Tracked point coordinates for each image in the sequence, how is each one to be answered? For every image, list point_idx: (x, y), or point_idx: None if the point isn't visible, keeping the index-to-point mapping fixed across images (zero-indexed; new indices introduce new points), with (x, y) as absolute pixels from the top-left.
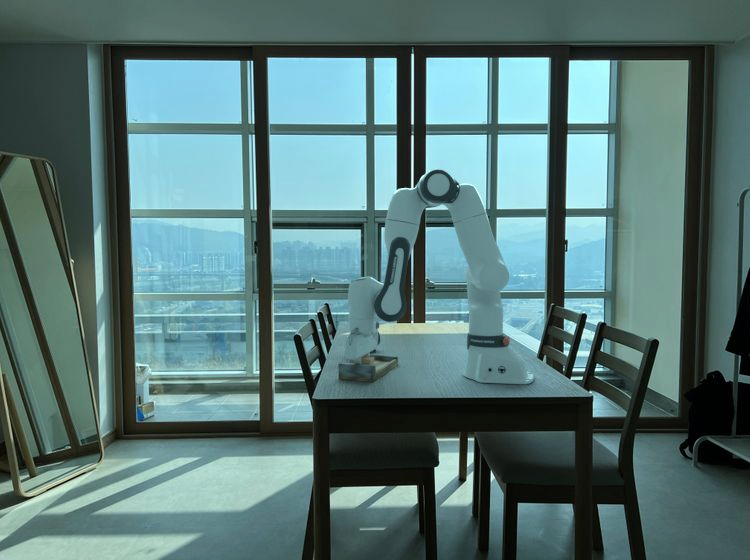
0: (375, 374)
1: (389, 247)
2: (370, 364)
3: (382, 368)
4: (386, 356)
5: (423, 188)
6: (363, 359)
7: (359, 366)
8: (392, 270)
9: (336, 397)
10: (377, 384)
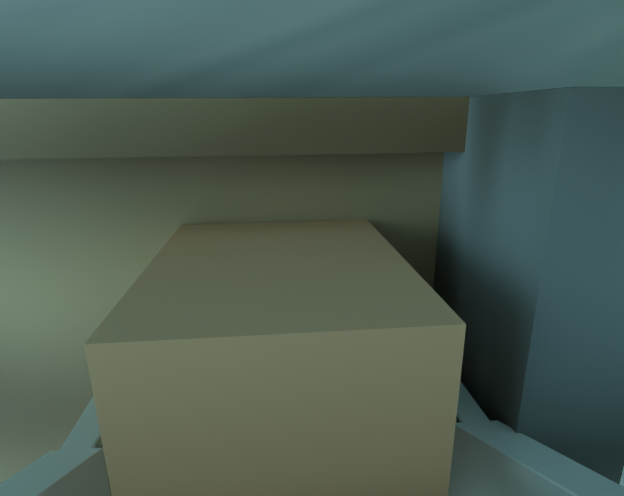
0: (468, 97)
1: None
2: (386, 273)
3: (39, 117)
4: None
5: None
6: (448, 480)
7: (622, 389)
8: None
9: None
10: (601, 4)
